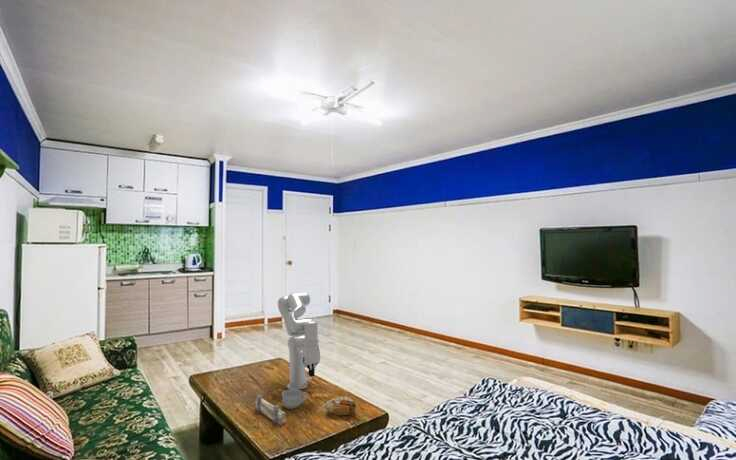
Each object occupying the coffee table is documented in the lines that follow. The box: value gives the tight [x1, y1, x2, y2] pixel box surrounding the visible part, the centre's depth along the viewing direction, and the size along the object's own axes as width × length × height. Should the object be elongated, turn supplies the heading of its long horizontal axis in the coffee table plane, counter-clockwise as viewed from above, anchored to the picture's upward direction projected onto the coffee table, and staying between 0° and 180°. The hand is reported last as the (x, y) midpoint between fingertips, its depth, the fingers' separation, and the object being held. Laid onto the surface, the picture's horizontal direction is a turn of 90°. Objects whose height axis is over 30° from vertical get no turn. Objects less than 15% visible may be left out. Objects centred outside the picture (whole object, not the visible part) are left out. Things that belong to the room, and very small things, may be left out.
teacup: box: [281, 389, 309, 410], centre depth 204 cm, size 14×11×8 cm
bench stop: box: [255, 394, 287, 426], centre depth 193 cm, size 4×26×8 cm, turn 43°
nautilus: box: [324, 396, 359, 419], centre depth 193 cm, size 8×22×15 cm
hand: (311, 375), depth 211 cm, fingers closed
